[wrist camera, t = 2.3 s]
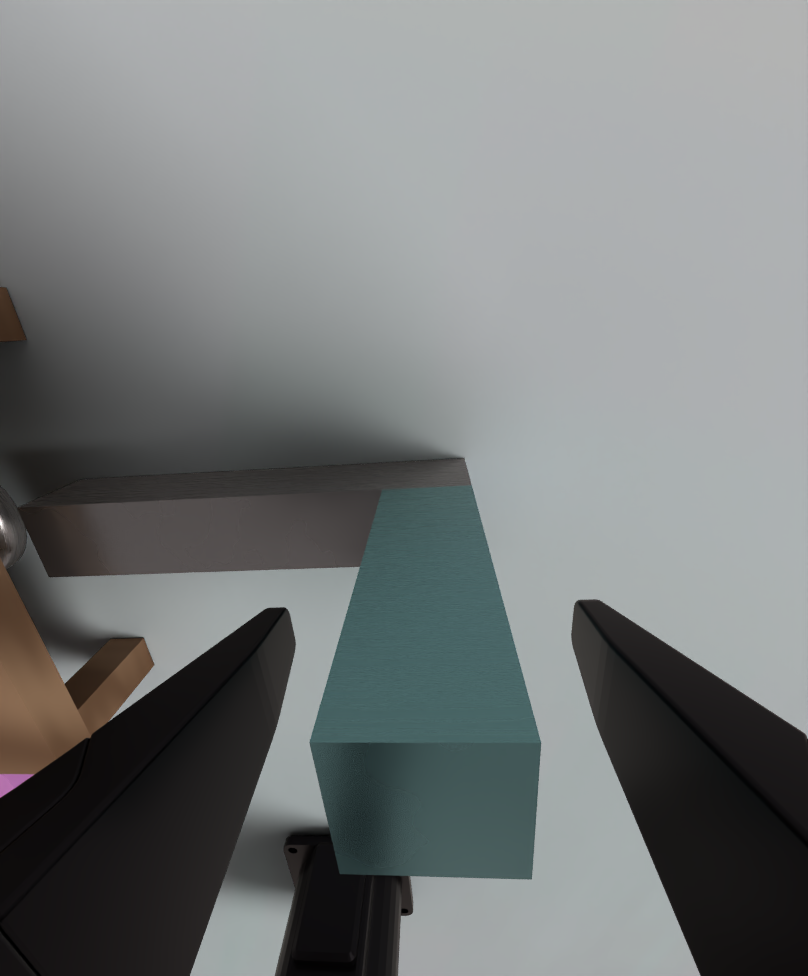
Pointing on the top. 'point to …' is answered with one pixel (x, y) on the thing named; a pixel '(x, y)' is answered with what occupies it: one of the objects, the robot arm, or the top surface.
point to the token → (11, 531)
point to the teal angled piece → (357, 641)
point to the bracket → (11, 782)
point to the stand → (52, 669)
